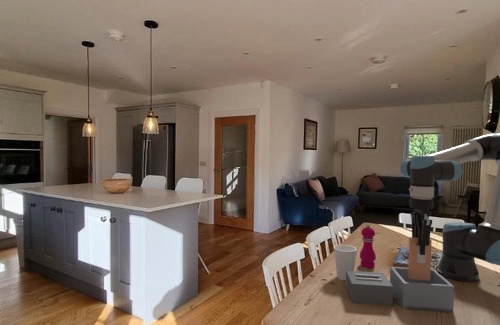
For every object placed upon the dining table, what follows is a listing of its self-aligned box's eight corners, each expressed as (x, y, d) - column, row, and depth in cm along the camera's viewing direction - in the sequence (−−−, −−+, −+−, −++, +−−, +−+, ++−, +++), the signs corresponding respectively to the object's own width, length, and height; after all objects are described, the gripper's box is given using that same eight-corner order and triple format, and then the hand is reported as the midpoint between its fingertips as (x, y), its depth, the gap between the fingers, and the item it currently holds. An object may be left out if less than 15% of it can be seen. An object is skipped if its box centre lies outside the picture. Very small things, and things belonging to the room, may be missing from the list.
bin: (433, 292, 117) (434, 269, 116) (453, 312, 102) (454, 286, 102) (389, 289, 119) (390, 266, 119) (403, 308, 104) (403, 283, 104)
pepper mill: (377, 269, 140) (377, 226, 139) (360, 267, 141) (361, 225, 140) (374, 263, 147) (374, 222, 146) (358, 262, 148) (359, 222, 147)
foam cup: (338, 271, 137) (339, 243, 136) (359, 276, 131) (359, 247, 130) (330, 278, 129) (330, 248, 129) (351, 284, 123) (351, 253, 123)
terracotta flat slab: (428, 278, 110) (429, 238, 110) (430, 280, 109) (431, 239, 108) (408, 277, 112) (409, 237, 111) (409, 279, 110) (410, 238, 109)
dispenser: (382, 290, 118) (383, 271, 118) (392, 305, 106) (393, 284, 106) (346, 287, 120) (346, 269, 120) (351, 302, 108) (351, 282, 108)
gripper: (403, 194, 117) (401, 254, 118) (418, 200, 103) (416, 268, 103) (424, 195, 116) (422, 255, 117) (442, 201, 101) (440, 270, 102)
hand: (419, 261), depth 110 cm, fingers closed on terracotta flat slab, 2 cm apart
